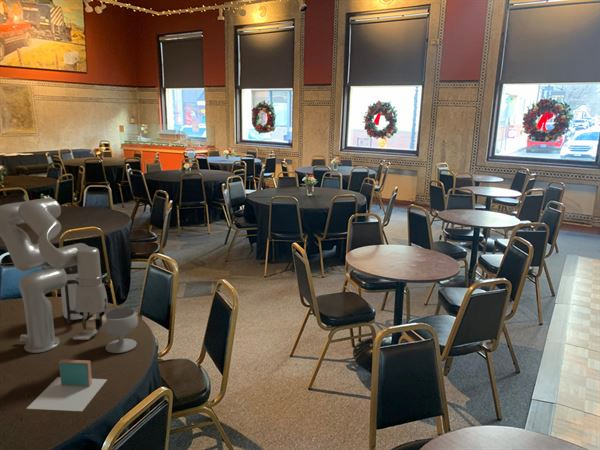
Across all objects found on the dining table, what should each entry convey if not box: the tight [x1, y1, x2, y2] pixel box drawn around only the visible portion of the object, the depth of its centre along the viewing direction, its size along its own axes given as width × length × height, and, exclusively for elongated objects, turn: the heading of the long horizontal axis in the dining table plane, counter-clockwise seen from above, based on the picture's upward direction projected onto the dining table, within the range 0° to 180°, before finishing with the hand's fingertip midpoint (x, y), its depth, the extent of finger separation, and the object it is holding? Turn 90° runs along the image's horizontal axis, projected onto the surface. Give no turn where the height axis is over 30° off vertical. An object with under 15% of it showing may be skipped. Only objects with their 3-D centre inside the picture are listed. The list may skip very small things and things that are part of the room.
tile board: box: [25, 376, 108, 412], centre depth 150 cm, size 18×18×2 cm
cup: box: [81, 318, 101, 338], centre depth 192 cm, size 8×7×8 cm
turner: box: [72, 313, 106, 341], centre depth 164 cm, size 17×5×4 cm, turn 179°
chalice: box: [100, 307, 139, 354], centre depth 183 cm, size 14×14×15 cm
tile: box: [58, 358, 93, 387], centre depth 154 cm, size 10×2×9 cm, turn 89°
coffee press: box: [60, 265, 93, 325], centre depth 205 cm, size 17×16×30 cm
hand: (94, 327), depth 166 cm, fingers closed on turner, 2 cm apart
